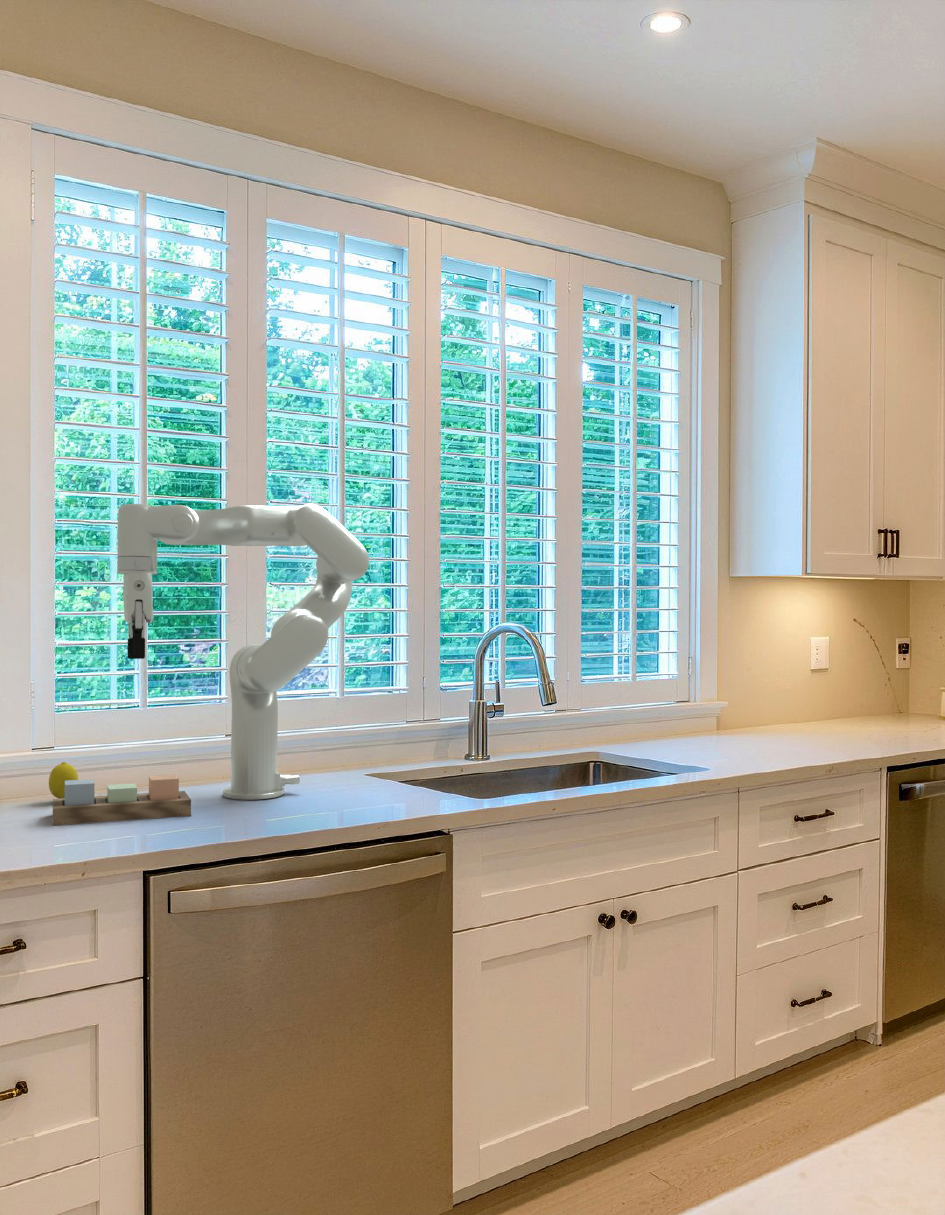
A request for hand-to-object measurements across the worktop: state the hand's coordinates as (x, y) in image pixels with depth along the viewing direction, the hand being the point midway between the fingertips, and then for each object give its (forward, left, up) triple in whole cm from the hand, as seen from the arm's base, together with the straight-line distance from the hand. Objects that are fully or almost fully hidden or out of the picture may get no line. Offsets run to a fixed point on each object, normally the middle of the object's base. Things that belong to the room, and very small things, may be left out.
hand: (136, 658), depth 196 cm
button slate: (+11, +10, -27) cm, 31 cm away
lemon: (+13, -8, -29) cm, 33 cm away
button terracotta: (-5, +10, -27) cm, 30 cm away
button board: (+3, +10, -29) cm, 31 cm away
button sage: (+3, +10, -29) cm, 31 cm away
